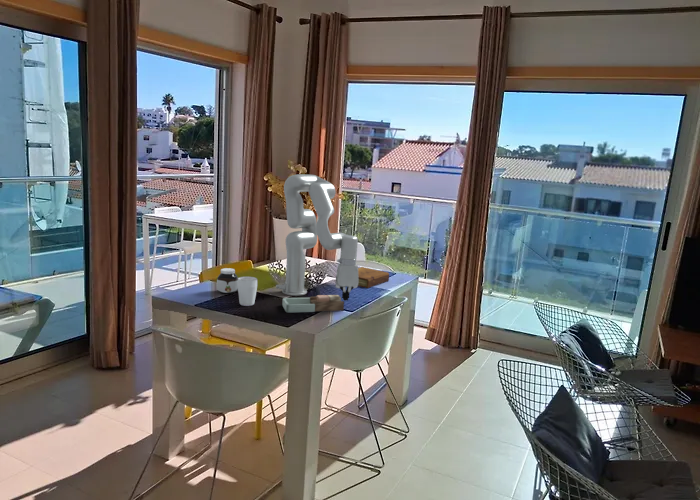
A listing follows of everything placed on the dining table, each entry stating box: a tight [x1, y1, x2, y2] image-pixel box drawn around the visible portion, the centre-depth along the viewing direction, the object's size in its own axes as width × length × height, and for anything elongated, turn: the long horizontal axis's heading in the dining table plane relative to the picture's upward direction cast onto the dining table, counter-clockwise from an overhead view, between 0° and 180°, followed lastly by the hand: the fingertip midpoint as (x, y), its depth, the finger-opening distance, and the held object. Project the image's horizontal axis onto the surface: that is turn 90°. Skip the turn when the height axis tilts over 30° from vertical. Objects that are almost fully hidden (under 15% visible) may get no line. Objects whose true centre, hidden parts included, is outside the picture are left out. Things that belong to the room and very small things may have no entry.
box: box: [281, 297, 316, 313], centre depth 247 cm, size 13×11×4 cm
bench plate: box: [309, 296, 345, 312], centre depth 251 cm, size 14×9×4 cm, turn 107°
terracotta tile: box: [316, 294, 330, 302], centre depth 250 cm, size 5×5×2 cm
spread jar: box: [216, 267, 239, 295], centre depth 266 cm, size 12×11×12 cm
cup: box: [237, 276, 258, 307], centre depth 248 cm, size 9×9×12 cm
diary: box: [357, 266, 390, 289], centre depth 307 cm, size 23×19×6 cm
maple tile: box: [327, 294, 342, 301], centre depth 252 cm, size 5×5×2 cm
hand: (345, 299), depth 254 cm, fingers closed
